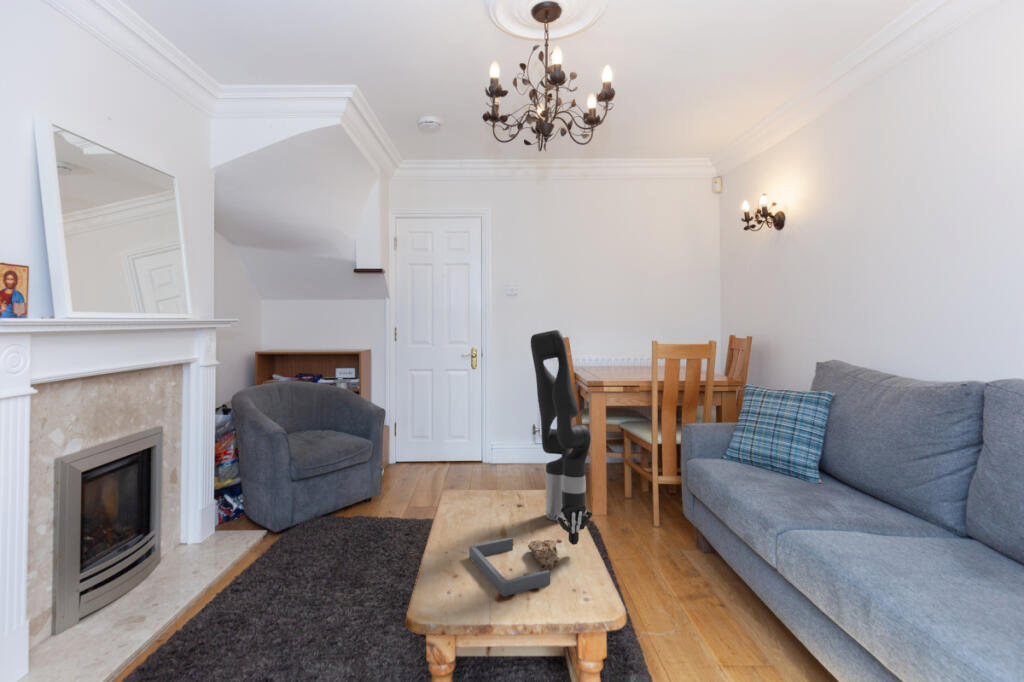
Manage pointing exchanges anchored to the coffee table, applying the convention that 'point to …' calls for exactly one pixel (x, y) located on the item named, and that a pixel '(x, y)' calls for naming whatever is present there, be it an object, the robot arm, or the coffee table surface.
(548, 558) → the rock
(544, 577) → the bracket
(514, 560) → the coffee table surface
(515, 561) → the coffee table surface
